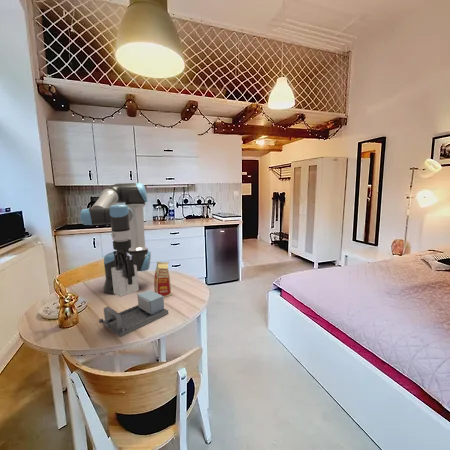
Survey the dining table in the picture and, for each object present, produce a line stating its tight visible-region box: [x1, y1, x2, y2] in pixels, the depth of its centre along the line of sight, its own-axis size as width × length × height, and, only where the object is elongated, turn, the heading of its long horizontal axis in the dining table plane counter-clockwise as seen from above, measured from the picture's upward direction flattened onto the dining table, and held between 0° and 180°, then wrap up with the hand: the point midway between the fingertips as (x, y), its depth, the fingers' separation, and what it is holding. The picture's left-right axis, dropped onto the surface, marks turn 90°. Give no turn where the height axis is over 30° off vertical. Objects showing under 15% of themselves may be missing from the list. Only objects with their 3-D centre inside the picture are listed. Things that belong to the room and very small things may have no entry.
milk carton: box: [153, 261, 172, 298], centre depth 148 cm, size 9×9×20 cm
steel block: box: [111, 265, 140, 298], centre depth 116 cm, size 6×9×12 cm, turn 139°
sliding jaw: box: [137, 289, 165, 315], centre depth 128 cm, size 12×8×7 cm, turn 49°
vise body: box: [98, 304, 169, 338], centre depth 121 cm, size 16×29×8 cm, turn 139°
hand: (126, 288), depth 117 cm, fingers closed on steel block, 6 cm apart
